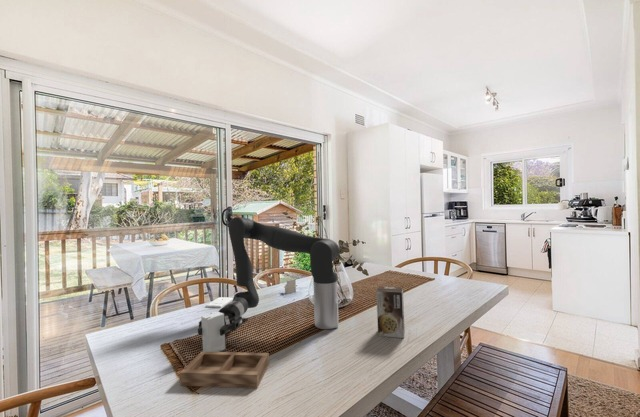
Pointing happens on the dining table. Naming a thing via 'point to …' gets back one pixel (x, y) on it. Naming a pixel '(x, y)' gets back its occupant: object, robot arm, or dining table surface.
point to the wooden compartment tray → (225, 370)
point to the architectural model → (290, 286)
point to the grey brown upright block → (390, 312)
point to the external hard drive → (219, 302)
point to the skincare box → (213, 332)
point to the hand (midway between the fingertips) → (210, 332)
